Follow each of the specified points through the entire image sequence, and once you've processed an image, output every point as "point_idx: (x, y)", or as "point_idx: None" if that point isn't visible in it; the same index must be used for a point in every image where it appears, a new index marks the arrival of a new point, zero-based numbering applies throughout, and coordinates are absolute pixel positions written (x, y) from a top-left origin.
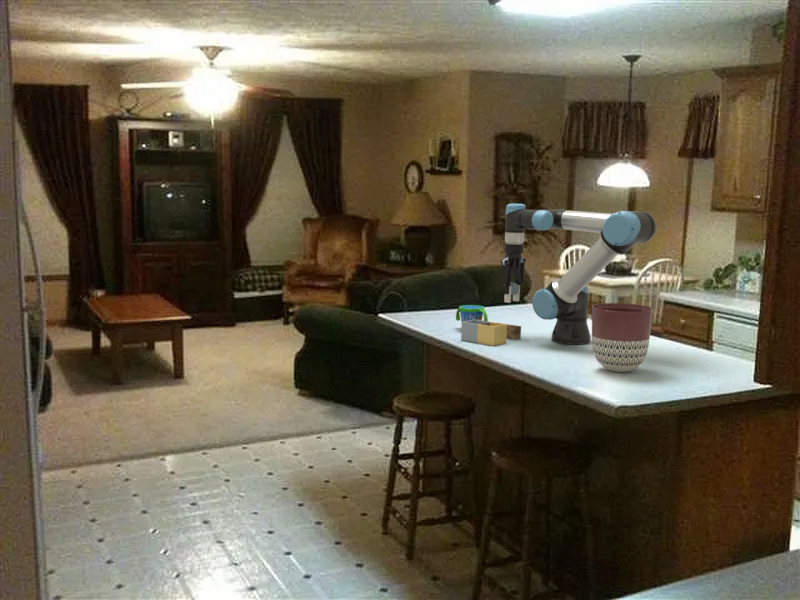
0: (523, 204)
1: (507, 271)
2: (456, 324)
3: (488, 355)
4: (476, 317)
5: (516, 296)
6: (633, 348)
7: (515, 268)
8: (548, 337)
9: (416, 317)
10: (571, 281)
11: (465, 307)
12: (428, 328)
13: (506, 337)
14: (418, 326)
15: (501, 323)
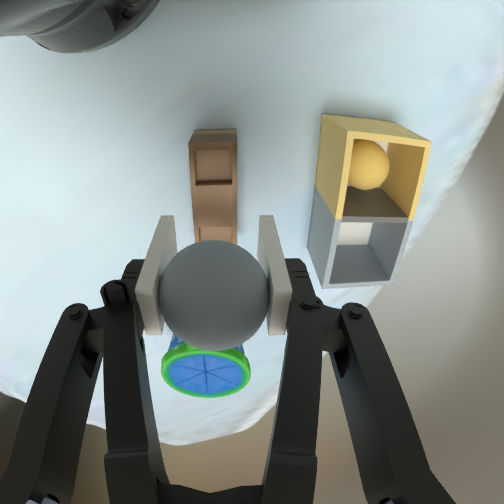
0: None
1: (390, 418)
2: None
3: (495, 80)
4: None
5: (169, 247)
6: None
7: (158, 466)
8: (91, 79)
9: (185, 428)
10: None
11: (213, 385)
12: (268, 376)
13: (329, 117)
14: (263, 393)
15: (198, 238)
